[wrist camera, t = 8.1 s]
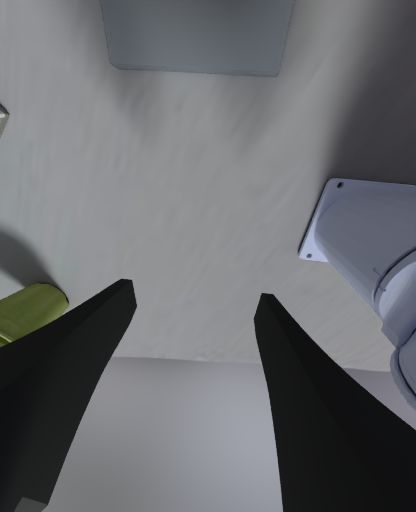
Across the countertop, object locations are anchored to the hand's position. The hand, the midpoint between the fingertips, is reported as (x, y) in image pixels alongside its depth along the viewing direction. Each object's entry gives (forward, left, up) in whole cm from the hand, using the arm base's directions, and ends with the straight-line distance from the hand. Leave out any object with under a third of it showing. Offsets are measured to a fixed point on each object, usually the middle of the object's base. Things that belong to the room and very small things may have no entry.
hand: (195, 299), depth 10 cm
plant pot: (+26, +15, -11) cm, 31 cm away
